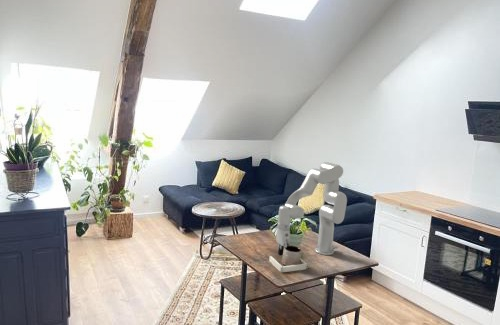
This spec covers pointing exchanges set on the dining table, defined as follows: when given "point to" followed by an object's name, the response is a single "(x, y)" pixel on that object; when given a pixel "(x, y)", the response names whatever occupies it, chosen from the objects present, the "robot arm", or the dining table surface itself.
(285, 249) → the planter
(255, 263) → the dining table surface
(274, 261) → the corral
